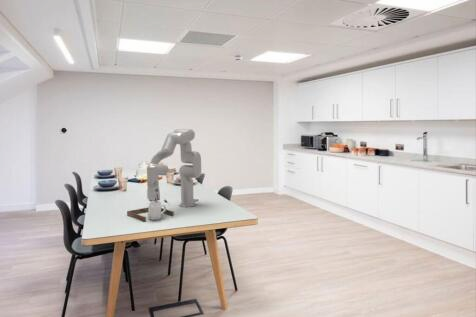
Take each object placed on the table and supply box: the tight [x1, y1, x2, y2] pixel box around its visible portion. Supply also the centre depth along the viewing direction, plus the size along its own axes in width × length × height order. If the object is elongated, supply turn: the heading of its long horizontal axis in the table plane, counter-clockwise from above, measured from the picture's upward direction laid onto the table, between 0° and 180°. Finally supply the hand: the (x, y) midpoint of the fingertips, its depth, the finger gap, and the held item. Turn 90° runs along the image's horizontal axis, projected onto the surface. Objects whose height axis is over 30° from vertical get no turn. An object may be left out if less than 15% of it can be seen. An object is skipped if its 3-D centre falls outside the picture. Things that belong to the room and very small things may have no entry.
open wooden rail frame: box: [126, 206, 174, 223], centre depth 254 cm, size 22×24×3 cm
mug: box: [147, 200, 167, 221], centre depth 244 cm, size 12×8×10 cm
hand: (153, 210), depth 248 cm, fingers closed
